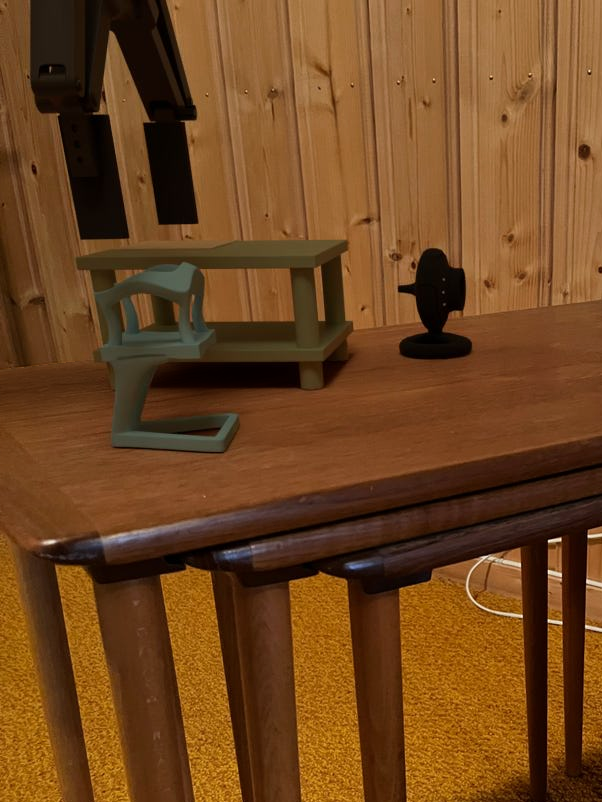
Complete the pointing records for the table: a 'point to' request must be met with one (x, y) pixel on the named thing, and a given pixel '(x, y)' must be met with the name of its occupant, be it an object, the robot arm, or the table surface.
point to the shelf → (244, 338)
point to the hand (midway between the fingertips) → (145, 231)
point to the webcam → (436, 307)
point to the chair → (158, 360)
